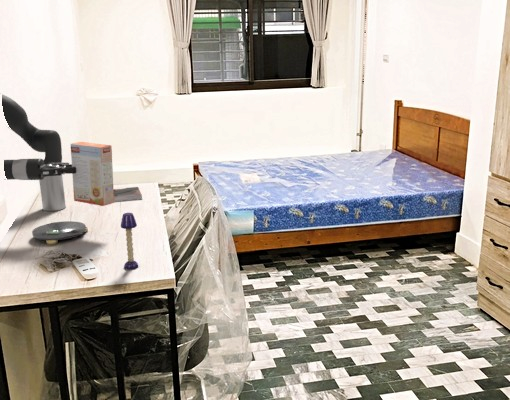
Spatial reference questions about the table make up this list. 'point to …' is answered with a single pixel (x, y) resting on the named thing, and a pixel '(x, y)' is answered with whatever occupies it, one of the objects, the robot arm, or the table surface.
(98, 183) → the cracker box
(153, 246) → the table surface
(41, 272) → the table surface
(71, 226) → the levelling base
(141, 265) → the table surface
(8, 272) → the table surface
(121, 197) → the picture frame
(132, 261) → the toy lamp
